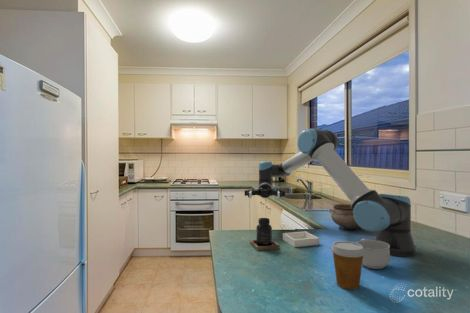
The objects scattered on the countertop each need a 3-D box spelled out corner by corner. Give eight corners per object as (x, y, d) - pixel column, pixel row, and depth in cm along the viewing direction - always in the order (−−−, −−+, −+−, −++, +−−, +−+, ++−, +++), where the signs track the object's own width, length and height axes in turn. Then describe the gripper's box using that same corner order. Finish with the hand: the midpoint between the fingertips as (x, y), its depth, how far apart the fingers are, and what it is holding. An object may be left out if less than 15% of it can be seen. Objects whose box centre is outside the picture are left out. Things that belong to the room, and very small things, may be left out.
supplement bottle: (255, 244, 126) (255, 217, 126) (270, 243, 126) (270, 217, 126) (257, 249, 119) (257, 220, 119) (273, 248, 119) (273, 220, 119)
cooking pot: (380, 229, 149) (380, 207, 149) (363, 236, 137) (363, 211, 137) (337, 221, 168) (337, 201, 168) (319, 226, 156) (319, 205, 156)
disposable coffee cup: (371, 291, 80) (371, 249, 80) (339, 293, 80) (339, 250, 80) (354, 277, 90) (354, 240, 90) (326, 278, 89) (325, 241, 89)
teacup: (394, 273, 93) (394, 249, 93) (360, 270, 95) (359, 247, 96) (381, 258, 107) (381, 237, 107) (351, 256, 109) (351, 236, 109)
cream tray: (319, 244, 124) (319, 238, 124) (294, 247, 121) (294, 240, 121) (305, 237, 135) (305, 231, 135) (282, 239, 132) (282, 233, 132)
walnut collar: (279, 248, 119) (279, 245, 119) (257, 250, 116) (257, 247, 116) (270, 241, 129) (270, 238, 129) (249, 243, 126) (249, 240, 126)
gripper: (288, 197, 152) (291, 203, 131) (242, 196, 155) (238, 202, 134) (288, 183, 152) (291, 187, 131) (242, 183, 155) (238, 187, 134)
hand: (264, 195), depth 132 cm, fingers open, 13 cm apart
